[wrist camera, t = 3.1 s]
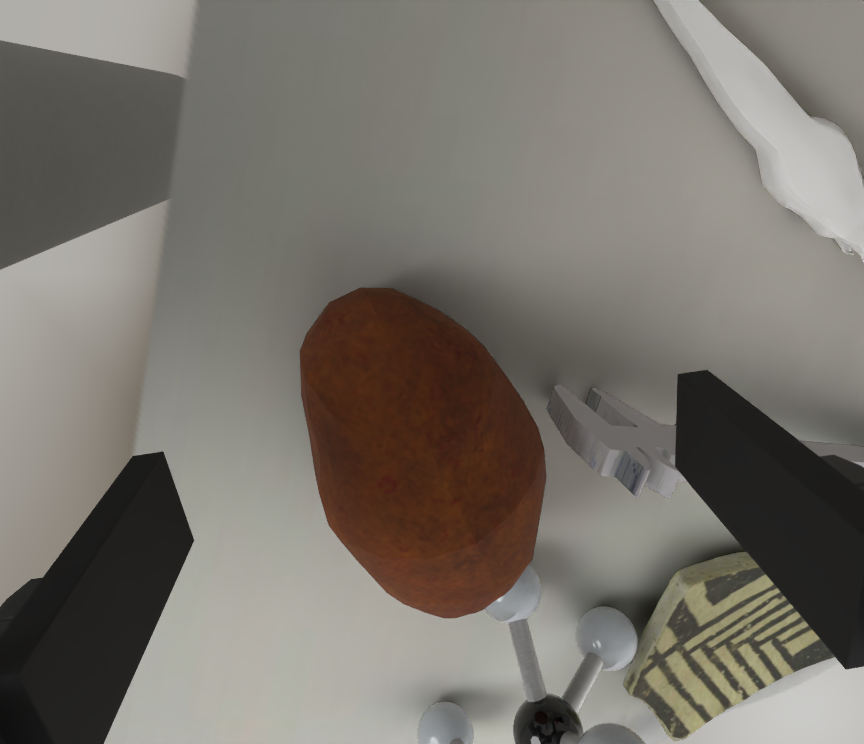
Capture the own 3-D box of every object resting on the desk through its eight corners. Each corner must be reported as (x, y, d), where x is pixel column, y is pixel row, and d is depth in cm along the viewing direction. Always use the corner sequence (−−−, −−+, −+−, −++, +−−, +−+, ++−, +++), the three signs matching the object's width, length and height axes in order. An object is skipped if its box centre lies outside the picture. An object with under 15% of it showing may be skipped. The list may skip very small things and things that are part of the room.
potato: (445, 240, 22) (529, 270, 15) (535, 493, 26) (636, 617, 19) (246, 323, 21) (230, 400, 14) (371, 571, 25) (410, 731, 18)
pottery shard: (644, 545, 27) (667, 575, 25) (952, 536, 30) (994, 563, 28) (599, 723, 31) (616, 761, 29) (877, 700, 34) (909, 733, 32)
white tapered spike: (893, 232, 23) (935, 242, 21) (835, 285, 24) (872, 298, 22) (640, -102, 18) (668, -125, 16) (576, -25, 19) (596, -39, 17)
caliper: (540, 403, 24) (592, 494, 18) (549, 378, 24) (605, 463, 18) (966, 477, 28) (1123, 573, 22) (980, 456, 27) (1142, 549, 21)
